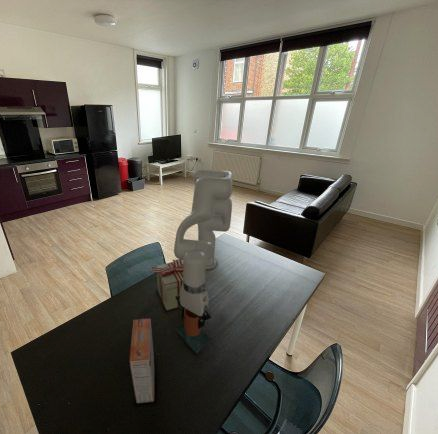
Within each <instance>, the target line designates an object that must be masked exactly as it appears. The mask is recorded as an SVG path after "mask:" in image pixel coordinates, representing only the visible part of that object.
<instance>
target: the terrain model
mask: <svg viewBox="0 0 438 434" xmlns="http://www.w3.org/2000/svg"><path fill="white" fill-rule="evenodd" d="M174 331H175V332H177V333H178V335H180V337H181V338H182V339H183V341H184V342H185V343H186V344H187V346H189V348H190V349H192V351H193V352H194V353H195V354H199V352H200V351H201V349H202V348H203V347H204V346H205V345H206V344H207V343H209V342H210V341H211V339H212V338H211V337H210V336H209V335H207V334H206V333H205V331H203V330H202V329H201V332H200V334H198V335H197V336H189V335H187V334H186V333H185V331H184V325H182V326H181V327H177V328H174Z"/></svg>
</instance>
